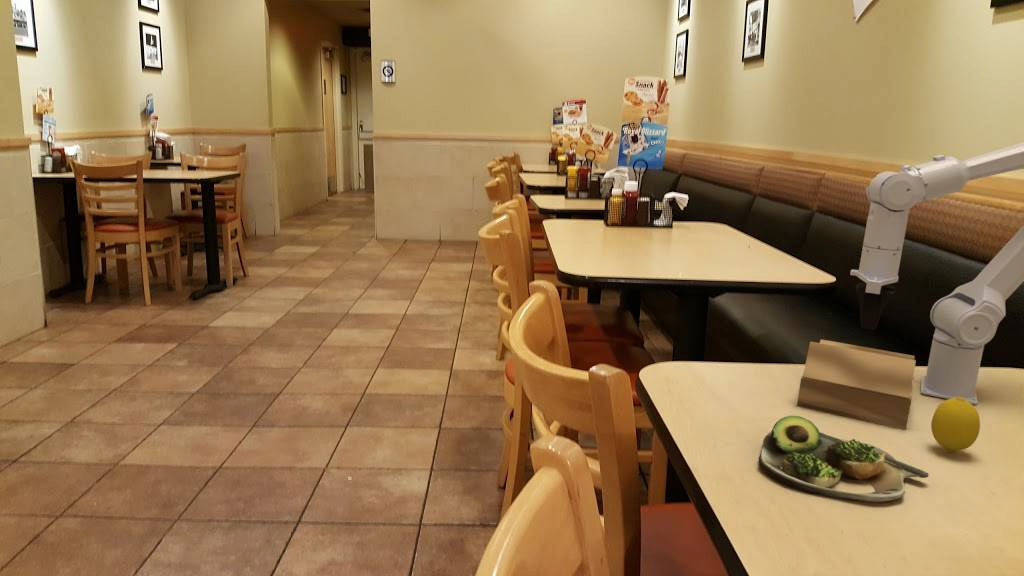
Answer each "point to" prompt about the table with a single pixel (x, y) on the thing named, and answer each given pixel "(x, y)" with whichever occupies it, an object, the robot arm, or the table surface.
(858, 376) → the flap front
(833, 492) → the avocado toast plate
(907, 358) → the panel
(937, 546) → the table surface
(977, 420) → the lemon
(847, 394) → the carton
